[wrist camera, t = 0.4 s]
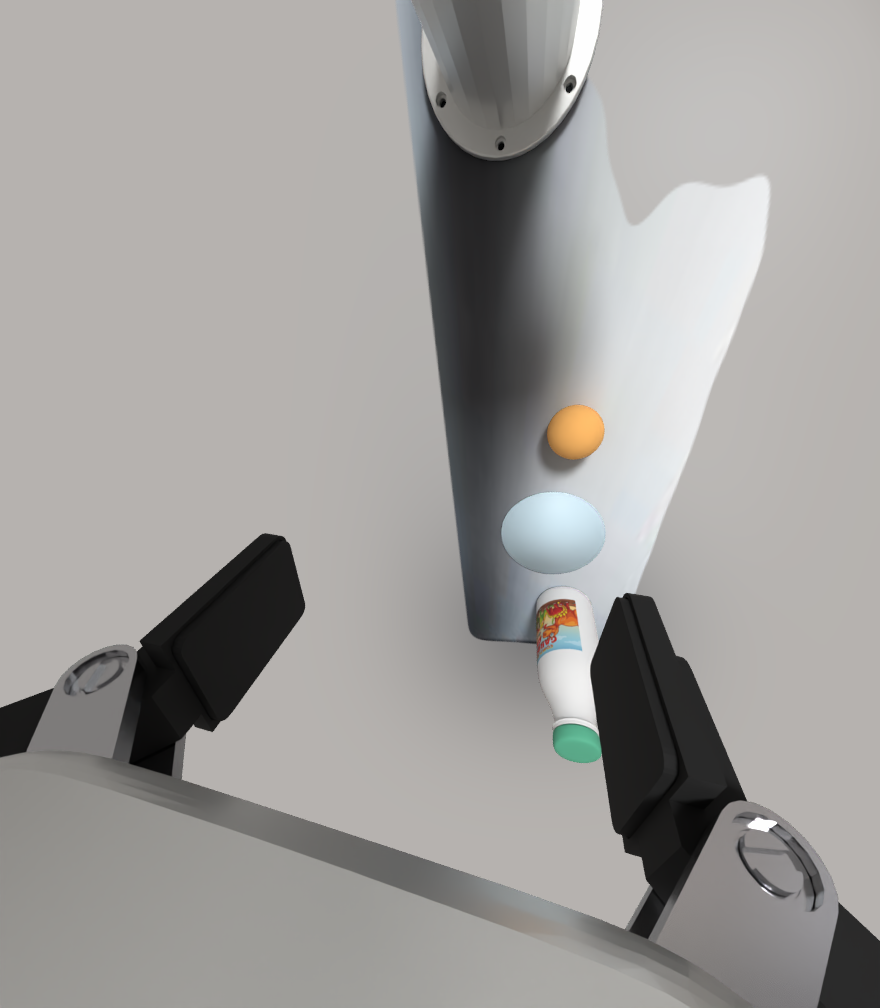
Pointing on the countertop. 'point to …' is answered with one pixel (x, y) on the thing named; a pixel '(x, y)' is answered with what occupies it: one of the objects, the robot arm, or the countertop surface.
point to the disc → (553, 532)
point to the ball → (575, 432)
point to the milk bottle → (568, 670)
